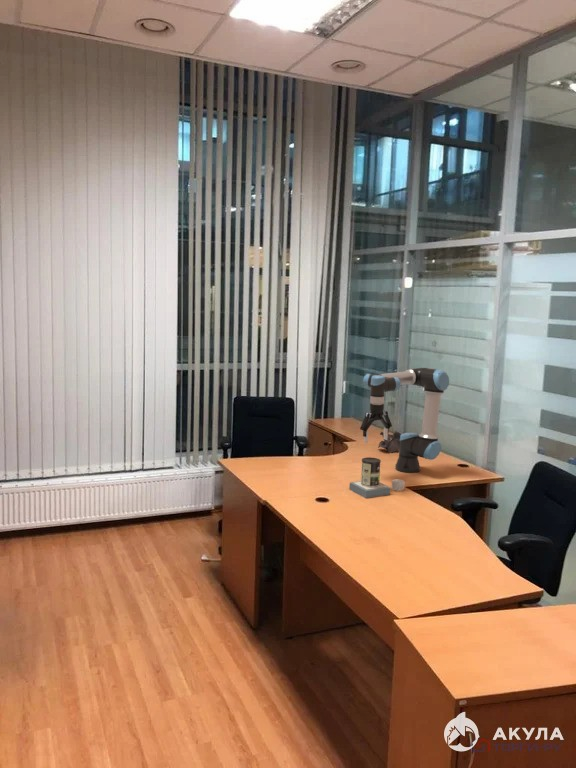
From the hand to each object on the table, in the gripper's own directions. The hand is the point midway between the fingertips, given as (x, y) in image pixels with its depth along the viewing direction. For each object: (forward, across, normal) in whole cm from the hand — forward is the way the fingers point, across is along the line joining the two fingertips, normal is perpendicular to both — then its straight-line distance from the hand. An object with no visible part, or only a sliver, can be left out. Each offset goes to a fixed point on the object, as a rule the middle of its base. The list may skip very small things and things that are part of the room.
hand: (375, 440), depth 349 cm
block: (+28, -11, +8) cm, 31 cm away
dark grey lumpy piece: (+29, -60, -59) cm, 90 cm away
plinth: (+27, +7, +6) cm, 28 cm away
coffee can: (+23, +7, +6) cm, 25 cm away
